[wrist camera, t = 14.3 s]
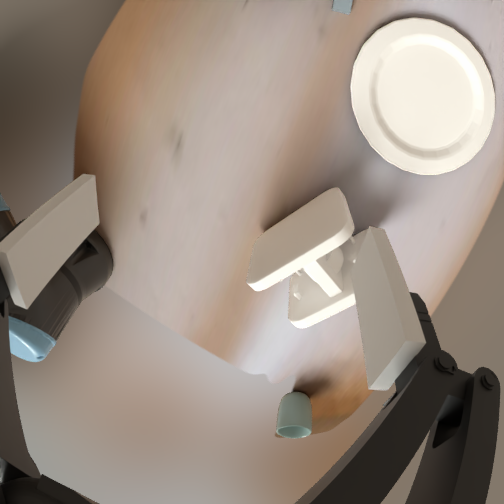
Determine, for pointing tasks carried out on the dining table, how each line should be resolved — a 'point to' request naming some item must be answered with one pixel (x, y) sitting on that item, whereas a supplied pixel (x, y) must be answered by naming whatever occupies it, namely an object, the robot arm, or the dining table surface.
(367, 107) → the plate
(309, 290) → the cable organizer
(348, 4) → the l-shaped desk stand
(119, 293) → the dining table surface
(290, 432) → the cup
